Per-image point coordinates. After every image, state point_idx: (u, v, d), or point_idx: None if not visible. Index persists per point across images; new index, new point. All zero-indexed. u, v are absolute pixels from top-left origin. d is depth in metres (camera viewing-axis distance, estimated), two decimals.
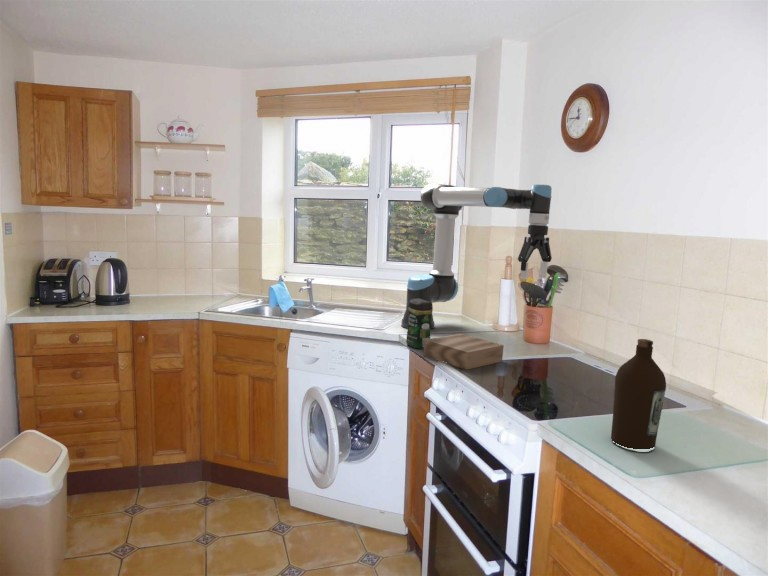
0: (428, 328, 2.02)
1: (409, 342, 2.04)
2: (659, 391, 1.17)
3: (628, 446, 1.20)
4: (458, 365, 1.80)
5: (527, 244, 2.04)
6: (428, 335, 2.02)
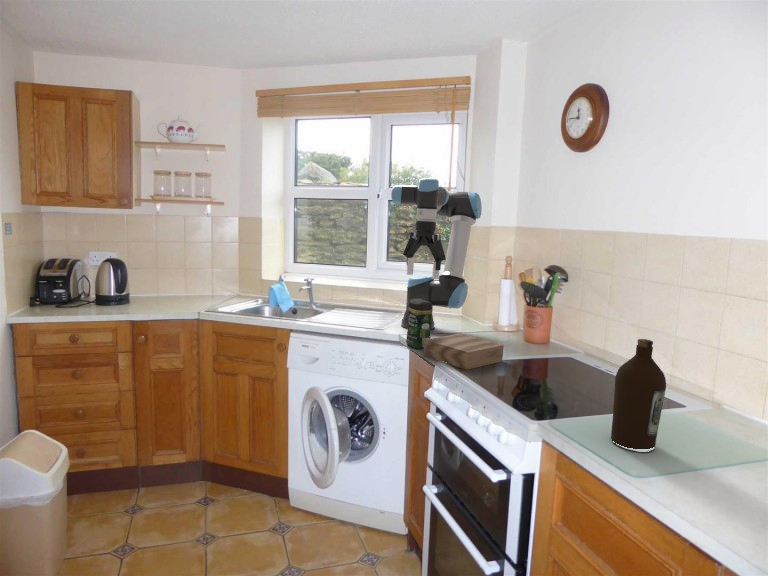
0: (428, 328, 2.02)
1: (409, 342, 2.04)
2: (659, 391, 1.17)
3: (628, 446, 1.20)
4: (458, 365, 1.80)
5: None
6: (428, 335, 2.02)
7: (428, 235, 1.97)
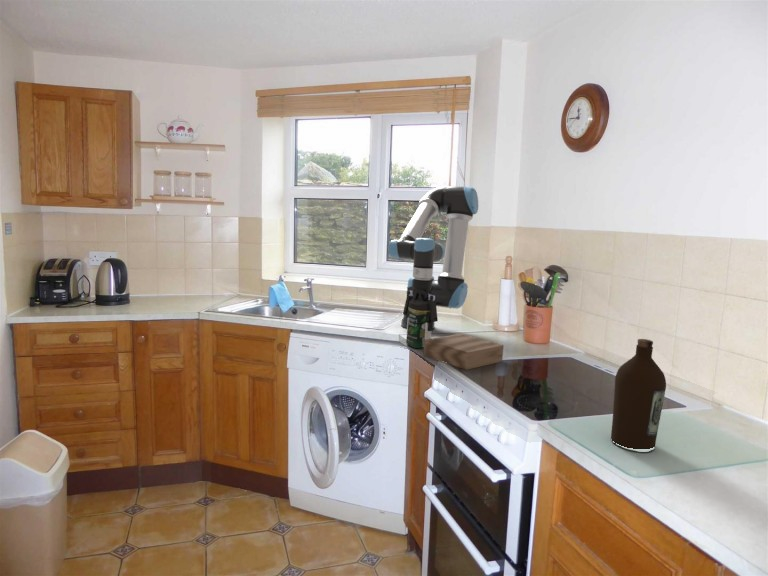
0: None
1: (408, 342, 2.04)
2: (659, 391, 1.17)
3: (628, 446, 1.20)
4: (458, 365, 1.80)
5: None
6: None
7: (424, 293, 2.00)
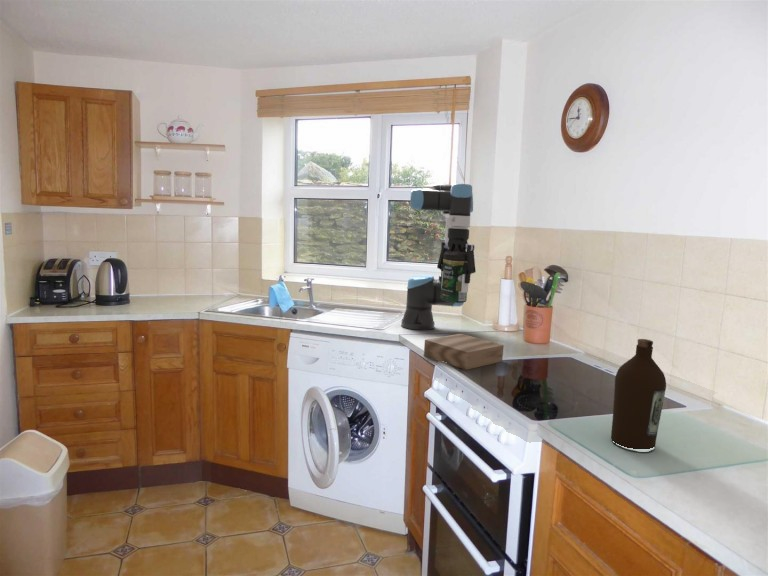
0: None
1: (443, 296, 1.91)
2: (659, 391, 1.17)
3: (628, 446, 1.20)
4: (458, 365, 1.80)
5: None
6: None
7: (461, 243, 1.87)
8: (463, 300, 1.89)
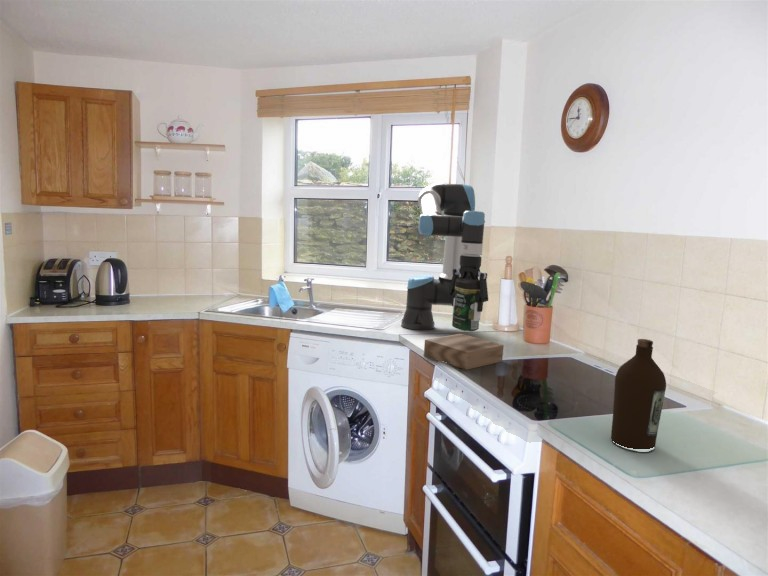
0: None
1: (455, 324, 1.89)
2: (659, 391, 1.17)
3: (628, 446, 1.20)
4: (458, 365, 1.80)
5: None
6: None
7: (474, 271, 1.84)
8: (475, 328, 1.87)
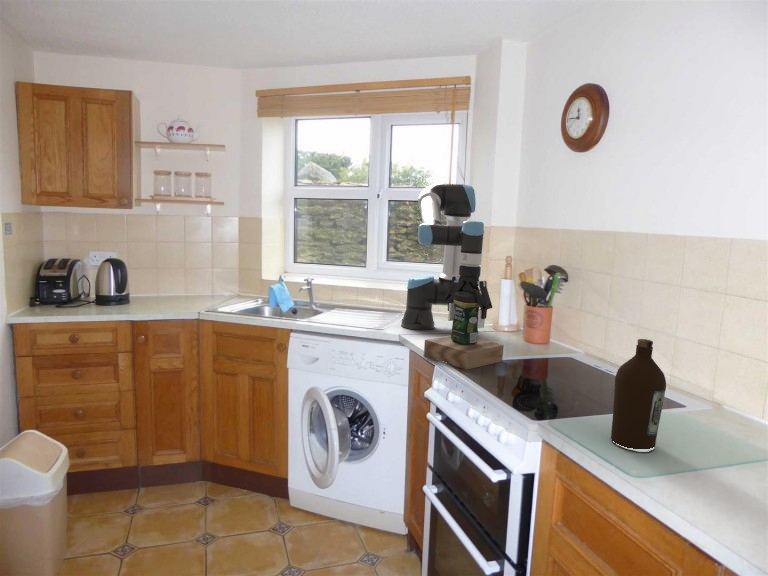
0: (476, 322, 1.87)
1: (454, 338, 1.90)
2: (659, 391, 1.17)
3: (628, 446, 1.20)
4: (458, 365, 1.80)
5: None
6: (476, 330, 1.88)
7: (473, 281, 1.85)
8: (474, 342, 1.88)
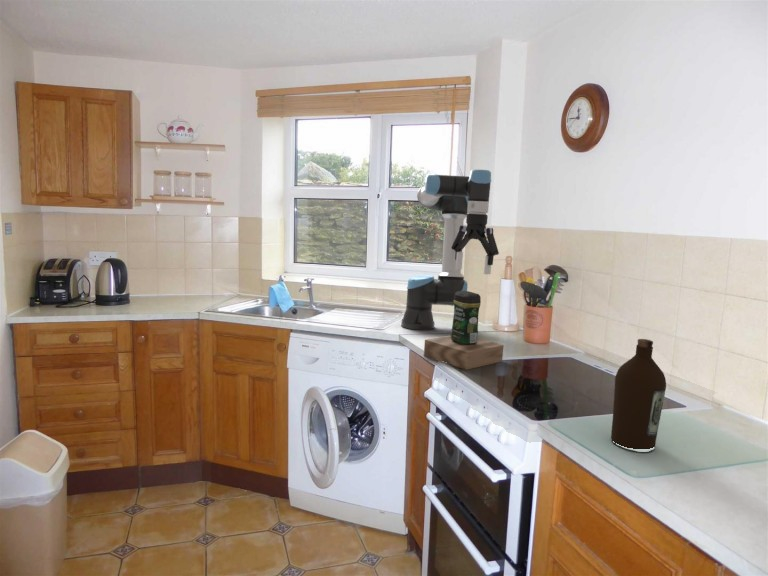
0: (476, 322, 1.87)
1: (454, 338, 1.89)
2: (659, 391, 1.17)
3: (628, 446, 1.20)
4: (458, 365, 1.80)
5: None
6: (476, 330, 1.87)
7: (480, 228, 1.90)
8: (474, 342, 1.88)
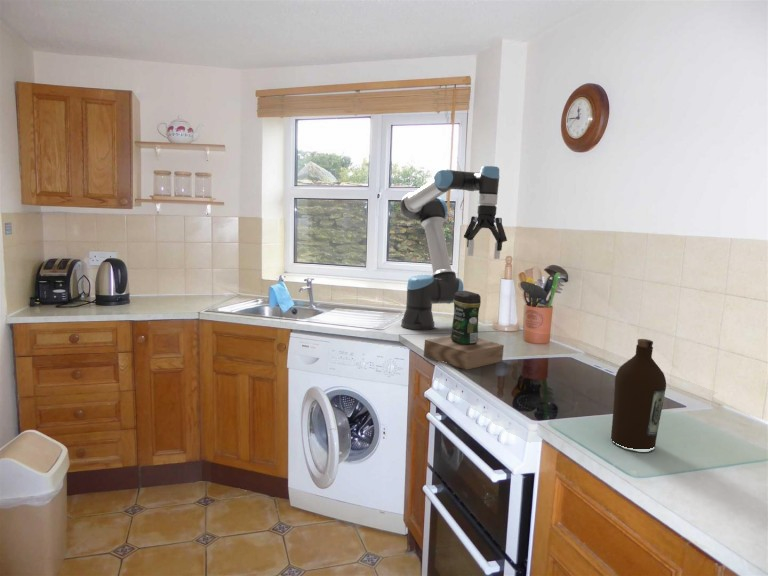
0: (476, 322, 1.87)
1: (454, 338, 1.89)
2: (659, 391, 1.17)
3: (628, 446, 1.20)
4: (458, 365, 1.80)
5: None
6: (476, 330, 1.87)
7: (490, 218, 2.14)
8: (474, 342, 1.88)
